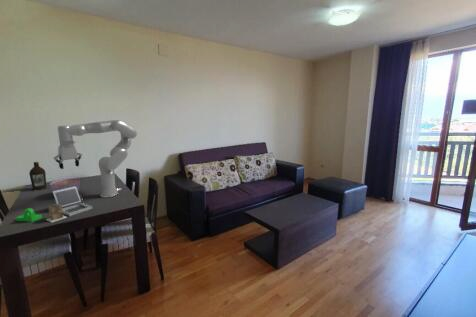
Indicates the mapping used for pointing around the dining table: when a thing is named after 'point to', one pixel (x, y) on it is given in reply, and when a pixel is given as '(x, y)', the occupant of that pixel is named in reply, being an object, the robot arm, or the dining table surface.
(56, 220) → the mat
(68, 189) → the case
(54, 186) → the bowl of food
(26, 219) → the mechanical part
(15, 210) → the dining table surface
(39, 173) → the olive oil
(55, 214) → the block
